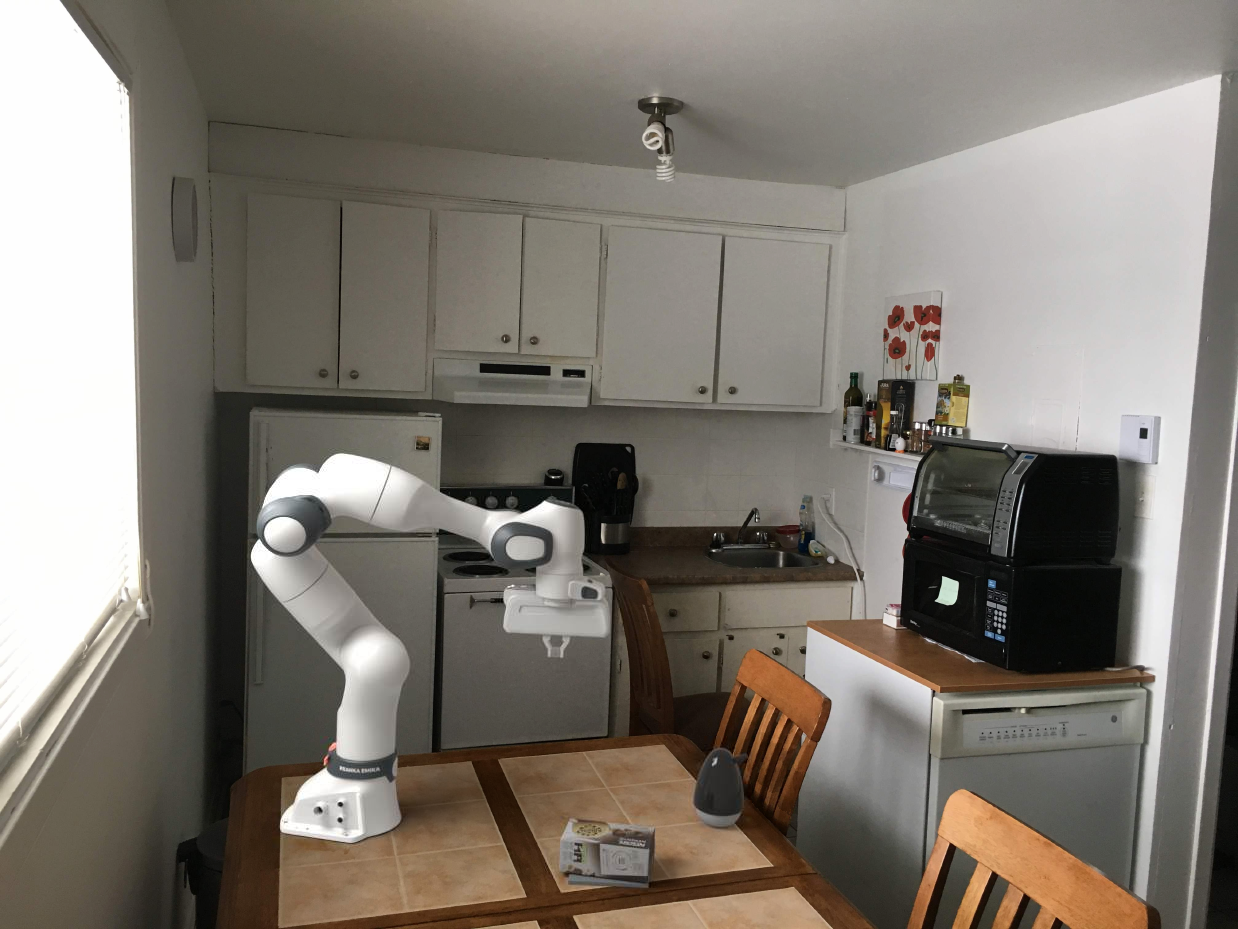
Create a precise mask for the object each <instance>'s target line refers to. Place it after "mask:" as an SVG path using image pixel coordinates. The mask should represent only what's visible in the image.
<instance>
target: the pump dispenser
mask: <svg viewBox="0 0 1238 929" xmlns="http://www.w3.org/2000/svg"><path fill="white" fill-rule="evenodd" d="M748 758H749V757H748V754H747V753H743V754H739V755H736V756H735V755H733V753H732V752H731V751H730V750H728V749H726V748H723V747H719V748H714V749H713V750H712V751H710V752H709V754H708V755H707V757H706V759H704V762H703V763H702V766H701V768H700V770H699V773H698V776H697V778H696V783H695V788H694V792H693V801H692V802H693V806H694V809H695V812H696V815H697V816H698V818H699V820H700V821H702V822H703V823H705V825H707V826H710V827H714V828H726V827H727V828H728V827H729V826H732V825H734V824H735V823H736V822H737V821H738V820H739V818H740V816H741V814H742V812H743V811H744V807H745V806H744V805H745V796H744V785H743V780H742V775H741V772H740V768H739V765H738V764H739V763H741V762H743V761H745V760H747V759H748Z"/></svg>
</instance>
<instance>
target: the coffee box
mask: <svg viewBox="0 0 1238 929" xmlns="http://www.w3.org/2000/svg"><path fill="white" fill-rule="evenodd" d="M655 834H656V827H653V826H645V825H644V826H642V825H635V824H627V823H626V824H625V823H616V822H607V821H601V820H600V821H598V820H597V821H596V820H590V819H581V818H570V819H569V820H568V822H567V825H566V827H565V829H564V830H563V833H562V834H561V835H562V836H561V837H560V840H559V841H560V843H559V845H560V846H559V861H558V862H559V863H558V871H559V873H560V872H561V873H568V874H569V873H574V874H582V875H589V876H597V877H604V878H612V879H619V880H627V881H635V882H642V883H647V884H649V882H650V878H651V875H652V874H651V872H652V870H653V866H654V861H655V853H656V852H655V849H656V848H655V847H656V845H655V844H656V837H655V836H656V835H655Z"/></svg>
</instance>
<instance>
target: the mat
mask: <svg viewBox="0 0 1238 929" xmlns="http://www.w3.org/2000/svg"><path fill="white" fill-rule="evenodd" d="M567 880H568V882H567V884H568V885H576V886H577V885H580V886H581V885H582V886H596V887H597V886H600V887H620V888H622V887H623V888H638V889H639V888H643V889H649V886H650V885H649V883H648V884H647V883H642V882H635V881H627V880H619V879H612V878H604V877H597V876H589V875H582V874H574V873H568V879H567Z"/></svg>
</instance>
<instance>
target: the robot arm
mask: <svg viewBox="0 0 1238 929" xmlns="http://www.w3.org/2000/svg"><path fill="white" fill-rule="evenodd" d="M340 516H345V517H350V518H354V519H356V520H360V521H361V522H364V523H367V524H368V523H369V524H370V525H372V526H376V527H378V528H383V529H387V530H392V531H397V532H404V533H405V532H406V533H407V532H411V531H414V530H417V529H421V528H422V529H423V528H436V529H440V530H443V531H447V532H449V533H452V534H456V535H459V536H462V537H464V538H468V539H470V540H474V541H476V542H478V543H479V544H480V545H481V546H483V547H484V548H485V549H486V550H487V552H489V553H490V555H491V557H492V558H493V560H494V561H495V562H496V563H497V564H498V565H499V566H501V567H502V568H504V569H506V570H510V571H520V570H526V569H534V568H536V569H535V572H536V573H535V584H533V583H532V584H529V583H526V584H522V583H521V584H520V583H511V585H508V586H506V587H505V589H504V590H503V595H502V596H503V599H502V600H503V603H504V605H505V611H504V618H503V626H502V627H503V629H504V631H505V632H506V633H508V634H522V635H523V634H524V635H526V634H528V635H542V642H543V643H544V645H545V647H546V649H547V658H551V659H563V658H564V655H565V652H564V650H565V649H566V648H567V646H568V645H569V643H570V640H571V637H581V638H582V637H584V638H603V639H604V638H607V637H608V636H609V634H610V633H611V617H610V616H611V614H610V607H609V603H608V602H609V601H608V600H607V599H606V597H605V595H606V586H605V584H604V583H602V582H601V581H598V580H595V579H593V578H590V577H588V576H584V567H583V563H582V557H583V553H584V551H585V536H586V535H585V518H584V513H583V511H582V510H581V509H580V508H579V507H578V506H576V505H575V504H574V503H572V502H567V501H563V500H560V499H552V498H550V499H545V500H543V501H542V502H541V503H540V504H538V505H537V506H535V507H533V508H531V509H529V510H527V511H524V512H521V511H520V510H517V509H514V508H498V509H497V508H496V509H488V508H487V509H486V508H483V507H481V506H478V505H474V504H471V503H469V502H465V501H463V500H460V499H457V498H454V497H451V496H448V495H447V494H444V493H442V492H440V491H439V490H437V489H436V488H435V487H433V486H432V485H430V484H429V483H428V482H426V481H424V480H422V479H421V478H419V477H418V476H415V475H414V474H411V473H409V472H408V471H405V470H403V469H401V468H398V467H396V466H395V465H390V464H388V463H386V462H383V461H378V460H375V459H372V458H369V457H366V456H365V457H364V456H358V455H355V454H349V453H337V454H334V455H332V456H330V457H329V458H328V459H327V460H326V461H325V462H323V464H322V466H321V468H320V467H319V466H316V465H314V464H311V463H297V464H293V465H291V466H289V467H287V468H285V469H284V470H283V471H282V472H281V473H279V474H278V476H277V478H276V479H275V480H274V483H273V484H272V486H271V487H270V488H269V490H268V491H267V493H266V495H265V497H264V502H263V504H262V507H261V509H260V511H259V513H258V516H257V521H256V533H257V537H258V540H257V542H255V544H254V546H253V548H252V550H251V554H250V559H251V563H252V565H253V567H254V568H255V571H256V572H257V574H258V575H259V577H260V578H261V580H262V581H263V583H264V584H265V585H266V587H267V588H268V590H269V591H270V592H271V593H272V595H273V596H274V597H275V598H276V599H277V600H278V601H279V602H280V604H281V605H282V606H283V607H284V608H285V609H286V610H287V611H288V613H290V614H291V616H292V617H293V618H294V619H295V620H296V621H297V622H298V623H299V624H300V625H301V626H302V627H303V628H304V629H305V631H306V632H307V633H308V634H309V635H311V637H312V638H313V639H314V640H315V641H316V642H317V644H319V646H320V647H321V648H322V649H324V650H325V652H326V653H327V654H328V655H329V656H330V657H331V659H333V661H334V662H335V663H336V664H337V665H338V666H339V667H340V669H342V670H343V673H344V676H345V686H344V691H343V697H342V701H341V703H340V706H339V708H338V710H337V715H336V741H335V742H333V743H332V744H331V746H329V748H328V752H327V753H326V754H325V757H324V761H323V766H324V768H323V769H321V770H320V771H319V772H317V773H316V774H314V775H313V776H311V777H310V778H309V779H307V780H306V781H305V782H304V783H303V784H302V785H301V786H300V788H299V790H298V791H297V794H296V796H295V799H294V802H293V803H292V804H291V805H290V806H289V807H288V808H287V809H286V810H285V812H284V813H283V814H282V815H281V816H282V817H281V819H280V824H279V828H280V831H281V832H282V834H287V835H295V836H302V837H307V838H314V839H321V840H322V839H323V840H327V841H336V842H341V843H347V844H348V843H349V844H353V843H357V842H359V841H362V840H364V839H366V838H370V837H372V836H377V835H380V834H384V833H386V832H389V831H391V830H392V829H394V828H396V827H397V826H398V825H399V824H400V822H401V821H402V813H401V810H400V807H399V800H398V795H397V787H396V786H397V785H396V778H397V774H398V759H399V758H398V749H397V746H396V729H397V727H396V726H397V711H398V704H399V700H400V696H401V692H402V691H401V690H402V689H403V688H402V687H403V684H404V683H405V681H406V679H407V677H408V676H409V673H410V669H411V660H410V657H409V655H408V654H409V653H408V651H407V648H406V647H405V645H404V643H403V642H402V640H400V638H398V637H397V636H396V635H395V634H394V633H392V632H391V631H390V630H389V629H388V628H386V627H385V625H383V624H382V623H381V622H380V621H379V620H378V619H377V617H375V616H374V614H373V613H372V611H370V609H369V608H368V607H367V606H366V605H365V603H364V602H363V601H362V600H361V598H360V597H359V596H358V595H357V593H356V591H355V590H354V589H353V588H352V587H351V585H349V583H347V581H346V580H345V579H344V578H343V577H342V575H341V574H340V573H339V572H338V571H337V570H336V568H335V567H334V566H333V565H332V564H331V563H330V562H329V561H328V560H327V559H326V557H325V556H324V555H323V554H322V553H321V552H320V550H318V548H317V547H316V546H315V544H316V543H317V542H318V541H319V540H320V539H321V537H322V536H323V535H324V533H326V531H327V530H328V529H329V528H330V527H331V525H332V522H333V521H332V519H334V518H336V517H340ZM552 636H562V638H561V640H562V642H563V643H562V644H561V645H560V646H553V645H552V643H551V641H550V640H551V637H552Z"/></svg>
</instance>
